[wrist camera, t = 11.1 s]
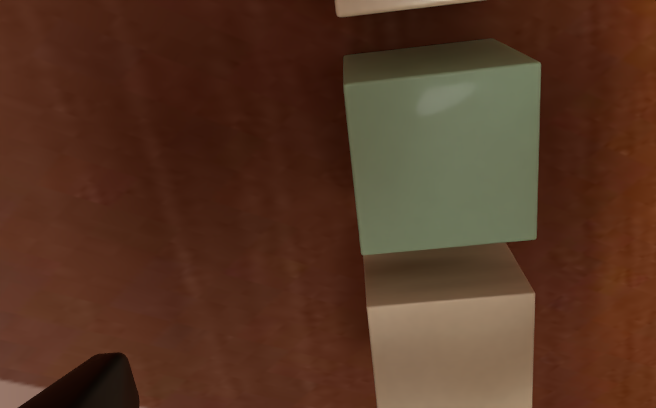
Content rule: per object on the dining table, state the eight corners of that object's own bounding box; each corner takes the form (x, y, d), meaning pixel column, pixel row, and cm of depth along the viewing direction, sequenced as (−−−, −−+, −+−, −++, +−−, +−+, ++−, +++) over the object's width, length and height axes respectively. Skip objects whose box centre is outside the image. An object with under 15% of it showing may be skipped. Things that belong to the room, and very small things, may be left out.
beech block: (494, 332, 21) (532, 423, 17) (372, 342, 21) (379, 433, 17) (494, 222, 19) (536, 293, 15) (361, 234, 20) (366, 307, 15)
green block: (494, 178, 19) (537, 240, 15) (357, 192, 19) (361, 256, 15) (493, 38, 17) (542, 61, 13) (342, 55, 17) (342, 83, 13)
